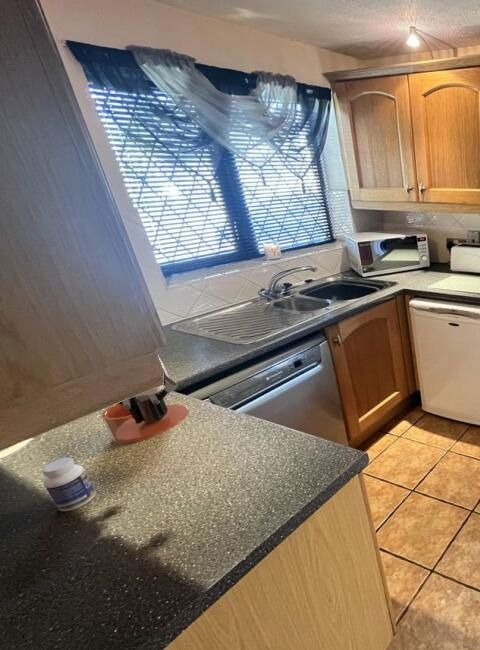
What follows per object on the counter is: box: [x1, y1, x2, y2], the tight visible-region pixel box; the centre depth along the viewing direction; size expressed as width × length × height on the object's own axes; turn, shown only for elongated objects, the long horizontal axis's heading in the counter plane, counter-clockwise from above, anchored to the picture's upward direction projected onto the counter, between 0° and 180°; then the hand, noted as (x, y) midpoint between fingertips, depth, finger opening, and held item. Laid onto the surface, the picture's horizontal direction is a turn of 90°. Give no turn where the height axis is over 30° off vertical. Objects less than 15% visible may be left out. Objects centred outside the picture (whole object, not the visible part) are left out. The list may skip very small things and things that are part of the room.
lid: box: [116, 395, 190, 441], centre depth 86 cm, size 12×12×7 cm
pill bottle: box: [42, 457, 96, 512], centre depth 77 cm, size 5×5×10 cm
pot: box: [101, 396, 167, 445], centre depth 99 cm, size 11×11×8 cm
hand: (152, 417), depth 86 cm, fingers closed on lid, 3 cm apart
